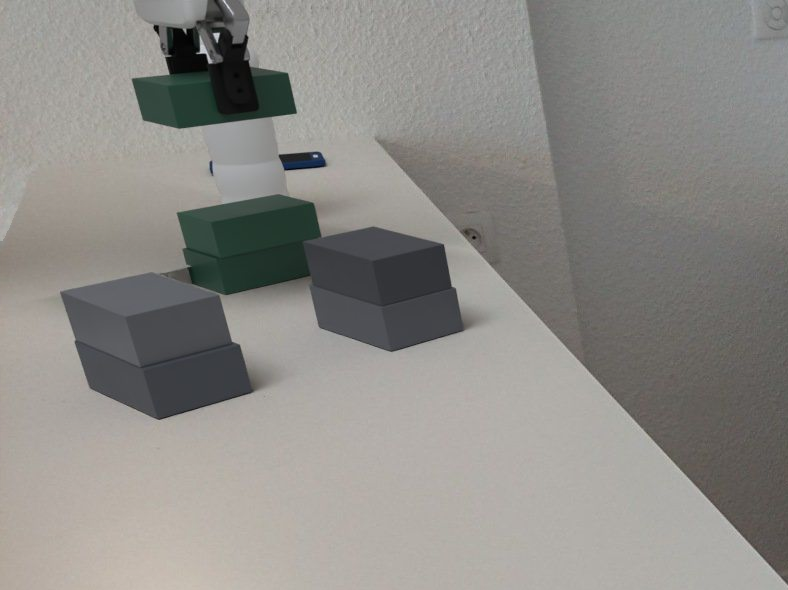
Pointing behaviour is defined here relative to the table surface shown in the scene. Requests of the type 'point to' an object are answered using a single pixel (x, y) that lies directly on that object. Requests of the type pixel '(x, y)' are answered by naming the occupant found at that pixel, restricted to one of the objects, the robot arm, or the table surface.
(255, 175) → the water bottle
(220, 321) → the grey blocks
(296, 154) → the cell phone
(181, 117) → the green block
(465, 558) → the table surface
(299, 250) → the green stack
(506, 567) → the table surface
